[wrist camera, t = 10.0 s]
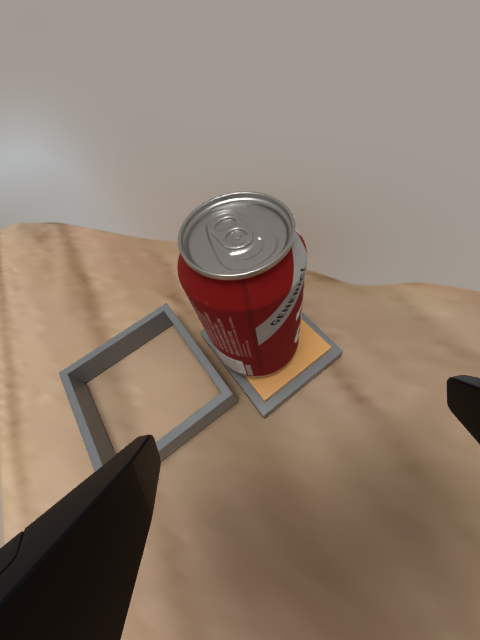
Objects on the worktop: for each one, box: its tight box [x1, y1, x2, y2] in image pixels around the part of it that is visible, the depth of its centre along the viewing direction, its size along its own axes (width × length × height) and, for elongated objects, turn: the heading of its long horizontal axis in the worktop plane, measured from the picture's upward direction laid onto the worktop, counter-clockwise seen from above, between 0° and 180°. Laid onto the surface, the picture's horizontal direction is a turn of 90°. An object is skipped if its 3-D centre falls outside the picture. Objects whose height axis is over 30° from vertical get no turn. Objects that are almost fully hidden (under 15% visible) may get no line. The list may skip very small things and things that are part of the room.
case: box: [59, 303, 237, 471], centre depth 23 cm, size 11×11×2 cm
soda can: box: [178, 192, 307, 377], centre depth 18 cm, size 7×7×12 cm
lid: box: [200, 313, 343, 418], centre depth 24 cm, size 9×8×2 cm
